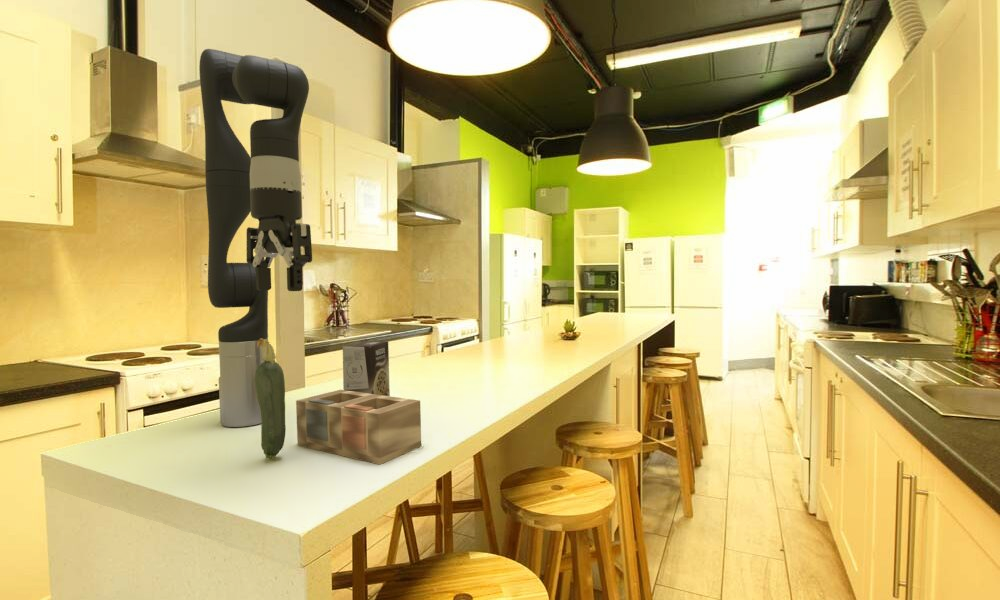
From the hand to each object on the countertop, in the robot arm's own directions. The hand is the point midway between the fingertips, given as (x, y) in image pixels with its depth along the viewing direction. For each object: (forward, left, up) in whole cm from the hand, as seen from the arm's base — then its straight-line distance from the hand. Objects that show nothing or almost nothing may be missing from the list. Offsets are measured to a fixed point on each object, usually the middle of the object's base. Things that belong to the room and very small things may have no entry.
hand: (279, 290), depth 81 cm
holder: (+6, +11, -28) cm, 30 cm away
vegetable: (-1, -1, -28) cm, 28 cm away
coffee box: (-5, +24, -28) cm, 37 cm away
